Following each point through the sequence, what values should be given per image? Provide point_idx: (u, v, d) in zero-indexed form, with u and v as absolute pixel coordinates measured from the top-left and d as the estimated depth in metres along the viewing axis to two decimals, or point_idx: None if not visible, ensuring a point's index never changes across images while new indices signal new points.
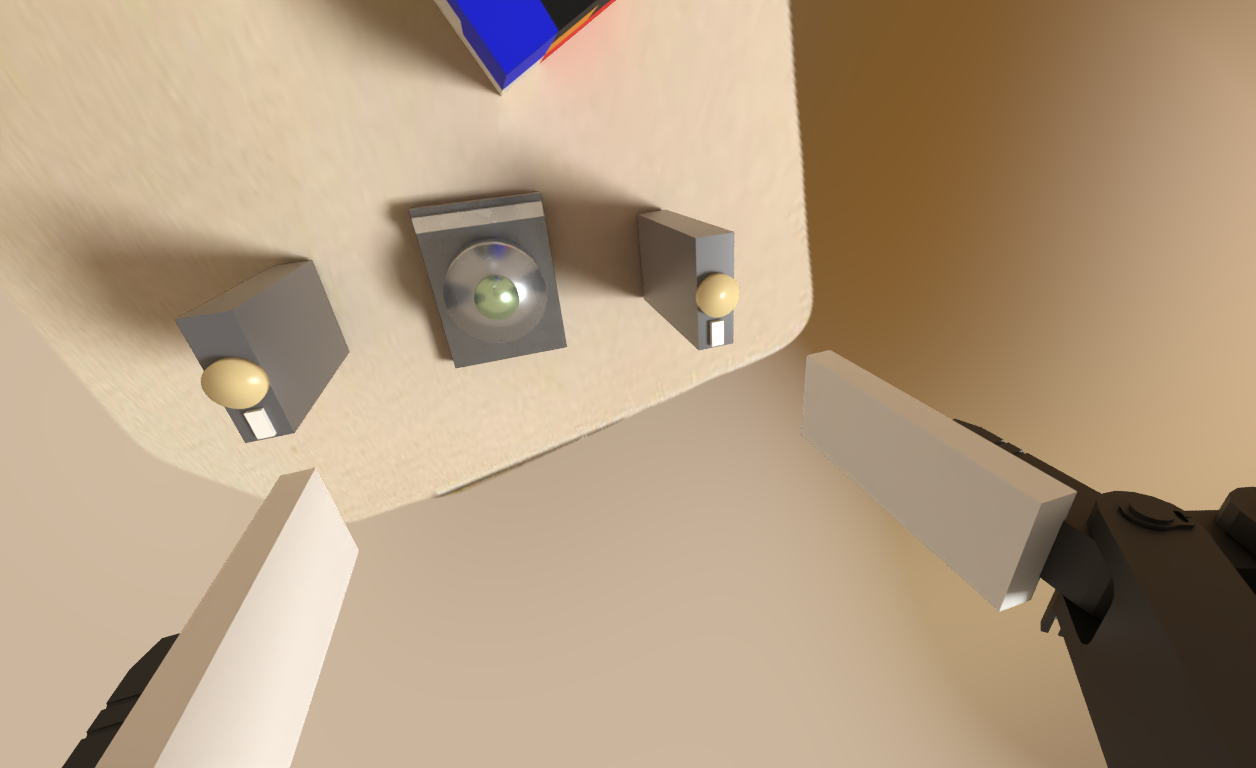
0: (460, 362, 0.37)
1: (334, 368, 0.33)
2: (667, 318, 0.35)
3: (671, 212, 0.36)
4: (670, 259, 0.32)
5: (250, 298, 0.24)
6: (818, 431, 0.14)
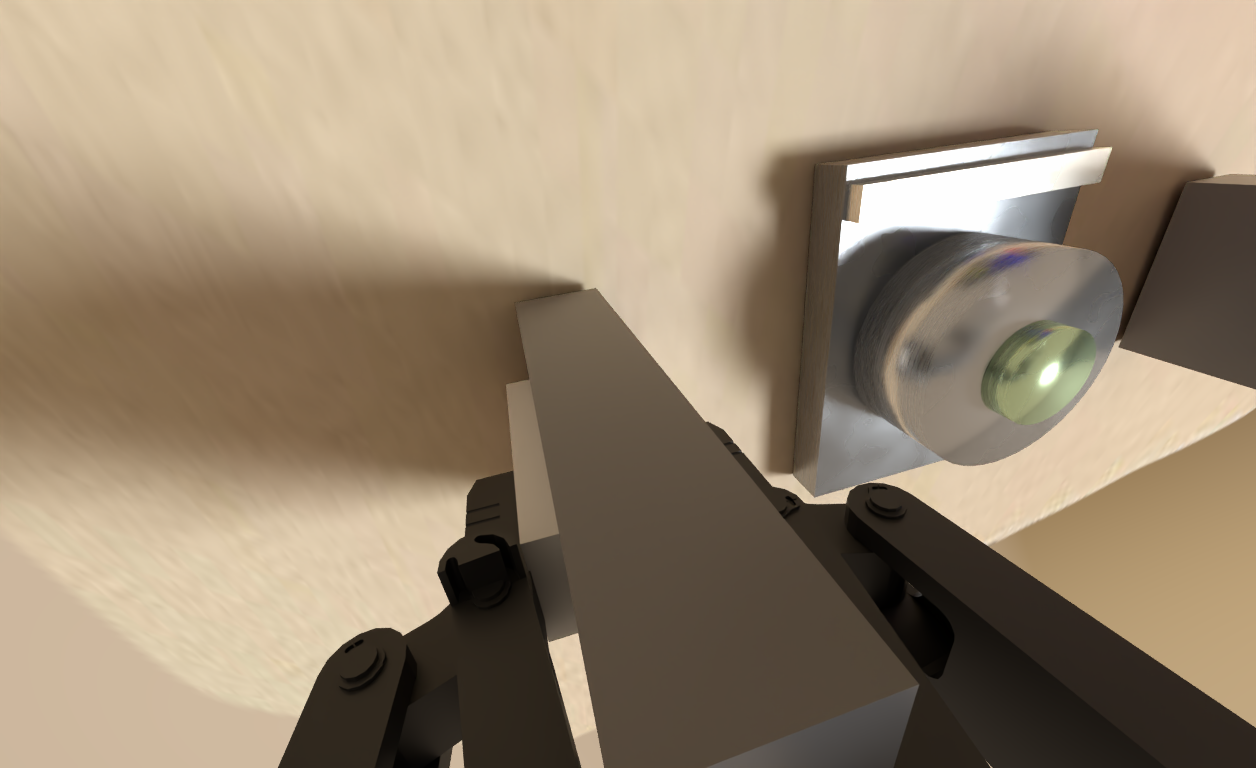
0: (826, 486, 0.19)
1: None
2: None
3: None
4: None
5: (766, 503, 0.05)
6: None
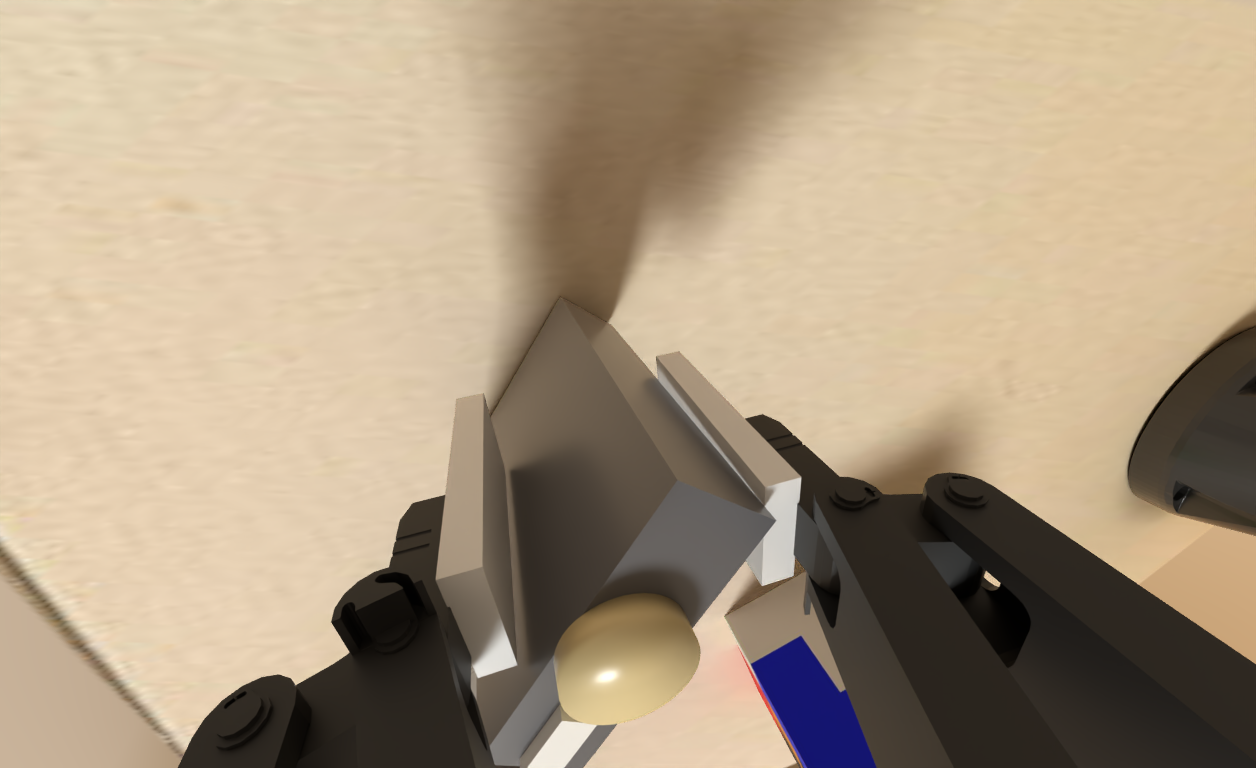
0: None
1: None
2: None
3: None
4: None
5: (721, 456, 0.10)
6: None
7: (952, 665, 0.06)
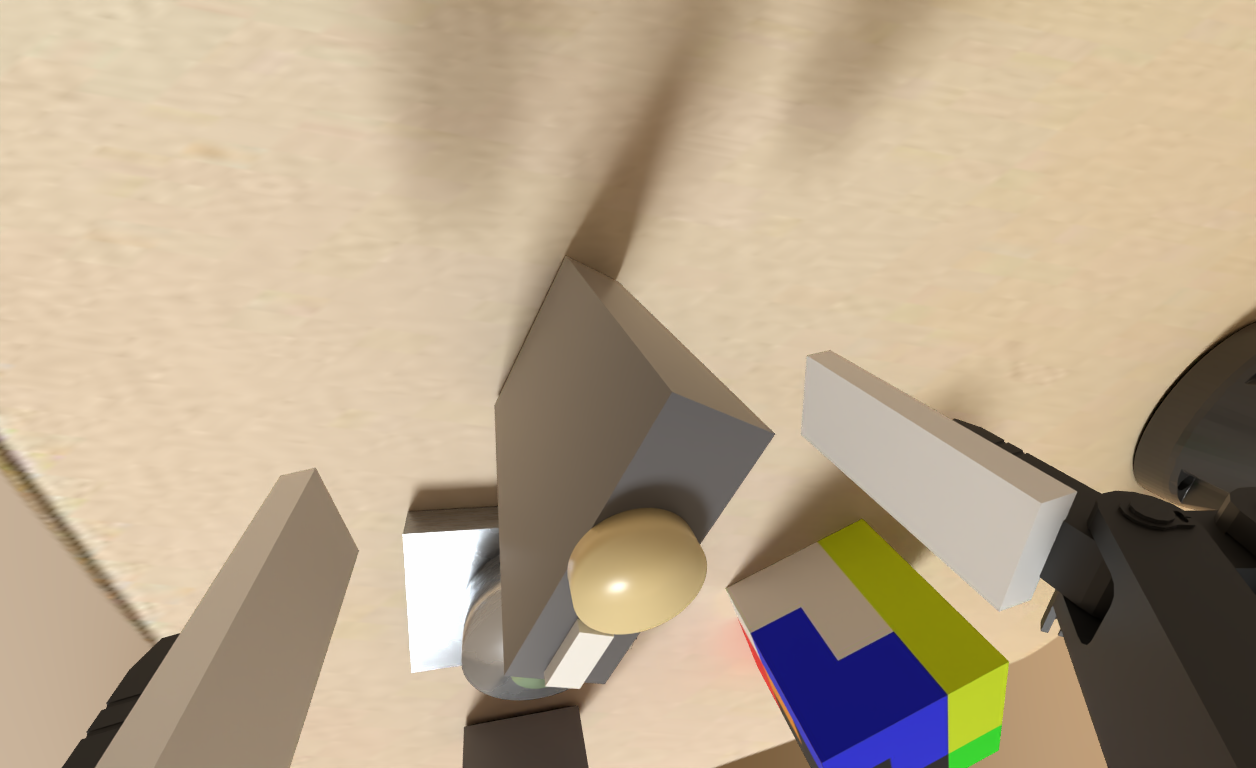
0: (413, 543, 0.21)
1: None
2: None
3: None
4: None
5: (723, 384, 0.11)
6: (818, 431, 0.14)
7: None
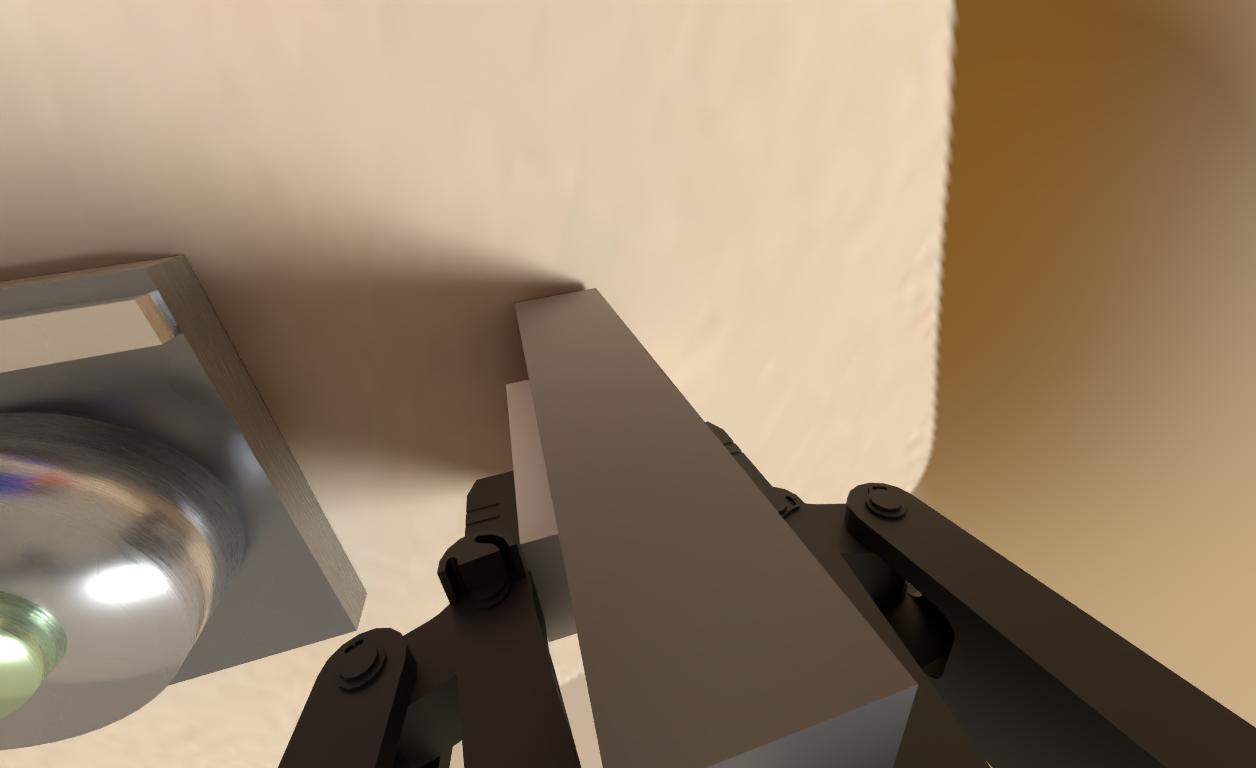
0: None
1: None
2: None
3: (604, 305, 0.12)
4: None
5: None
6: None
7: None
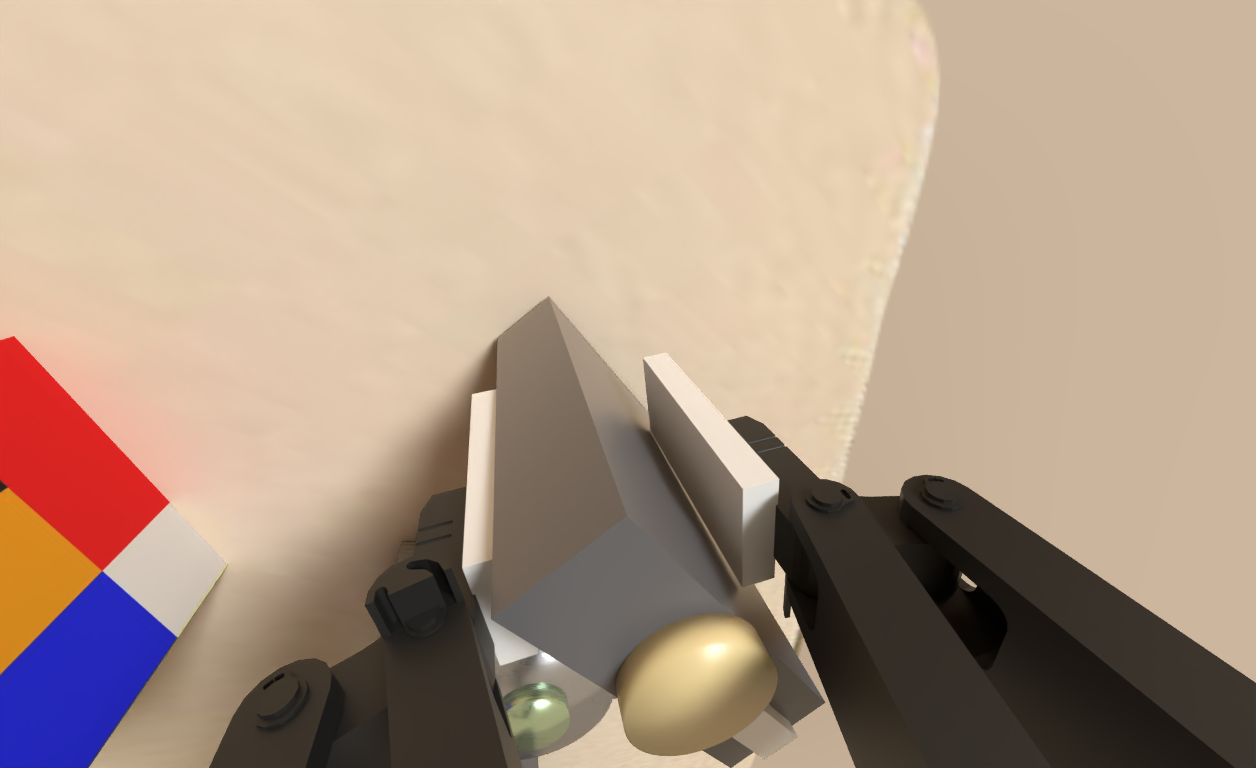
0: None
1: None
2: None
3: (550, 312, 0.15)
4: None
5: None
6: (656, 428, 0.15)
7: (928, 667, 0.06)
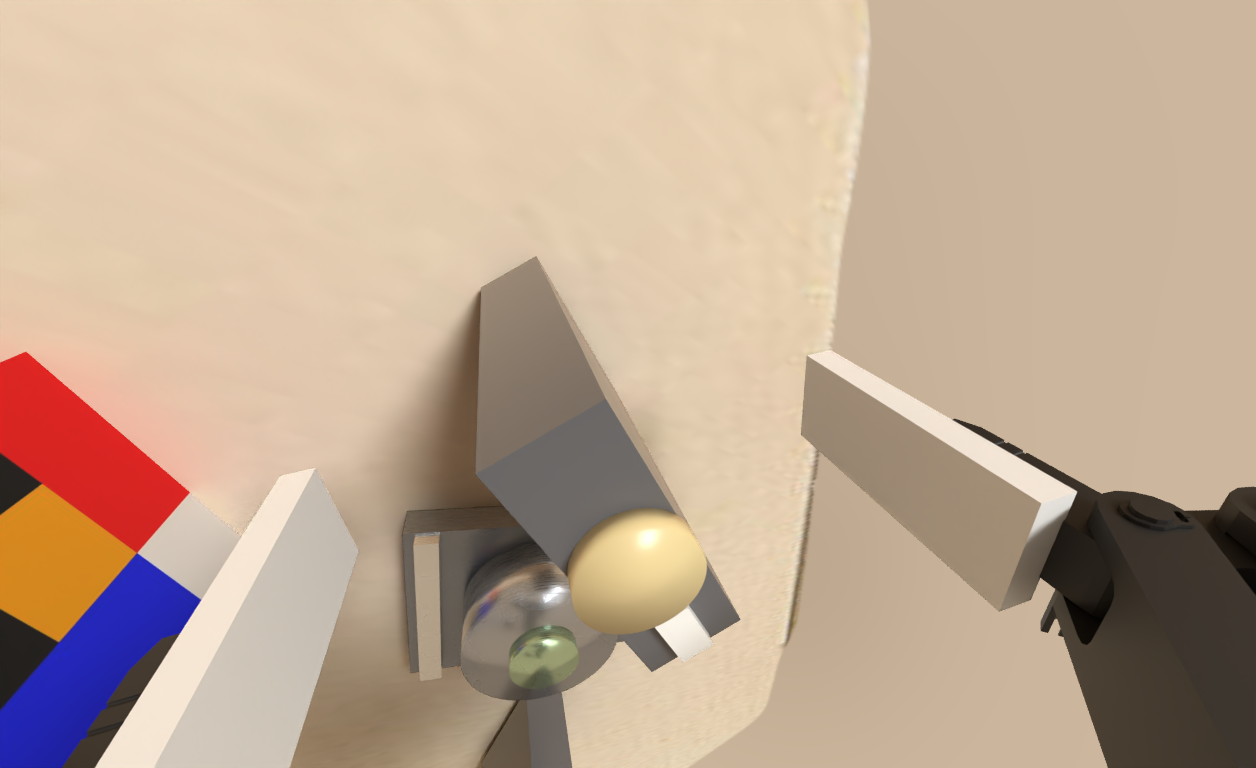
0: None
1: (529, 762, 0.25)
2: None
3: (537, 267, 0.16)
4: None
5: None
6: (818, 431, 0.14)
7: None
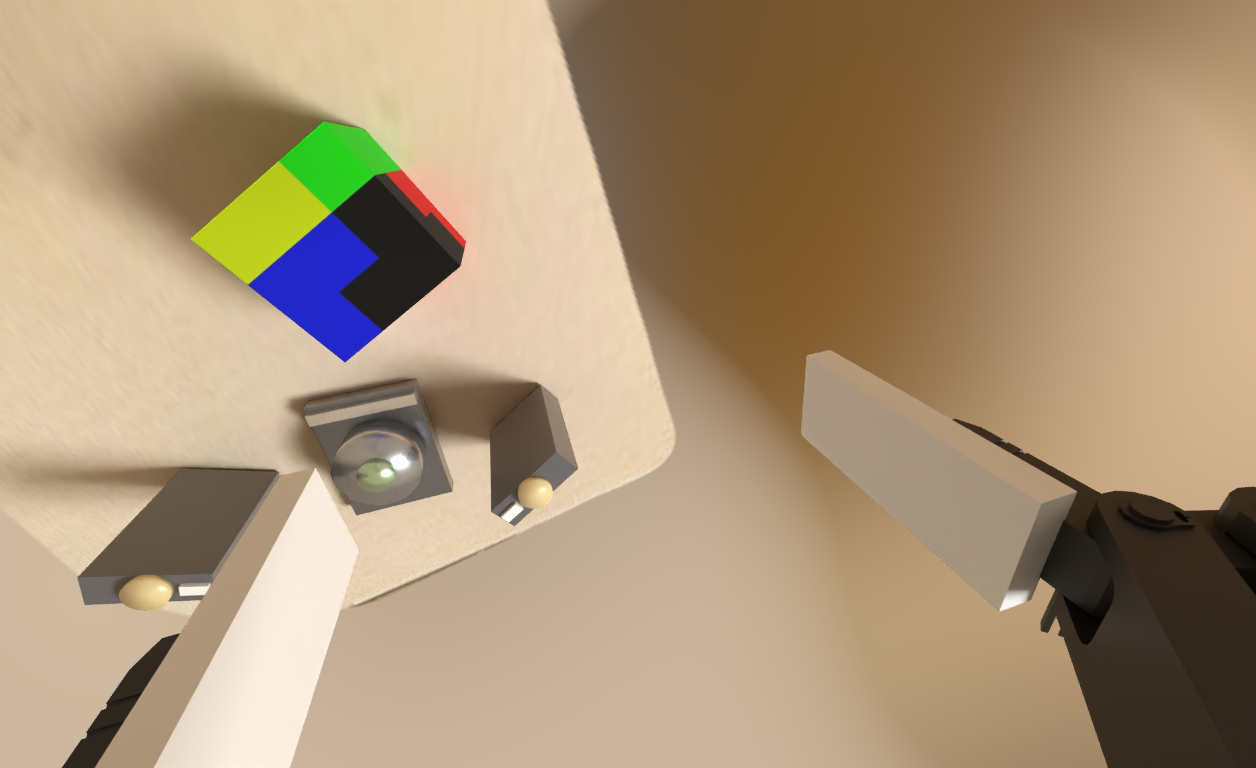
0: (360, 511, 0.45)
1: (257, 498, 0.39)
2: (492, 465, 0.41)
3: (559, 406, 0.46)
4: (531, 438, 0.40)
5: (101, 553, 0.32)
6: (818, 431, 0.14)
7: None
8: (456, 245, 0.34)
